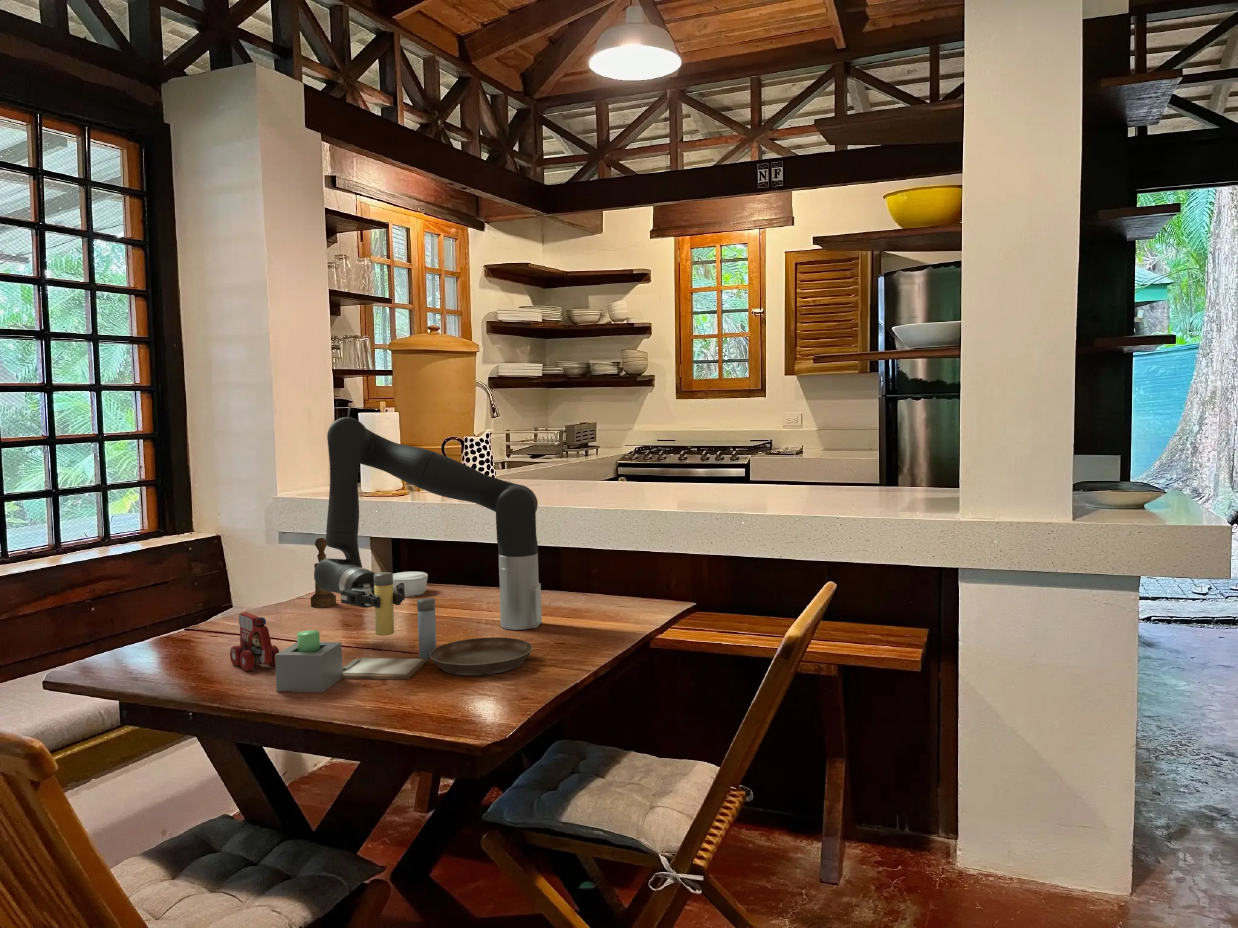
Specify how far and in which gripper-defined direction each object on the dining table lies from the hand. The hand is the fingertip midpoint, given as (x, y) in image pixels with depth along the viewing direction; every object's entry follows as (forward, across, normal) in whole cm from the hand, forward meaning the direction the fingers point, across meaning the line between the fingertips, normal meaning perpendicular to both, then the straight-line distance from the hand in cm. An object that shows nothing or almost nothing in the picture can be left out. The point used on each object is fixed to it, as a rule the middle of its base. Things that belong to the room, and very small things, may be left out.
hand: (388, 601), depth 178 cm
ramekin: (-71, +30, +15) cm, 78 cm away
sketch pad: (-3, 0, +14) cm, 15 cm away
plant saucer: (+5, +17, +15) cm, 23 cm away
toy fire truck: (-23, -21, +15) cm, 34 cm away
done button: (-2, -15, +8) cm, 17 cm away
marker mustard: (-3, 0, +7) cm, 8 cm away
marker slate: (-7, +10, +14) cm, 19 cm away
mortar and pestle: (-71, +6, +15) cm, 72 cm away
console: (-2, -15, +14) cm, 21 cm away
